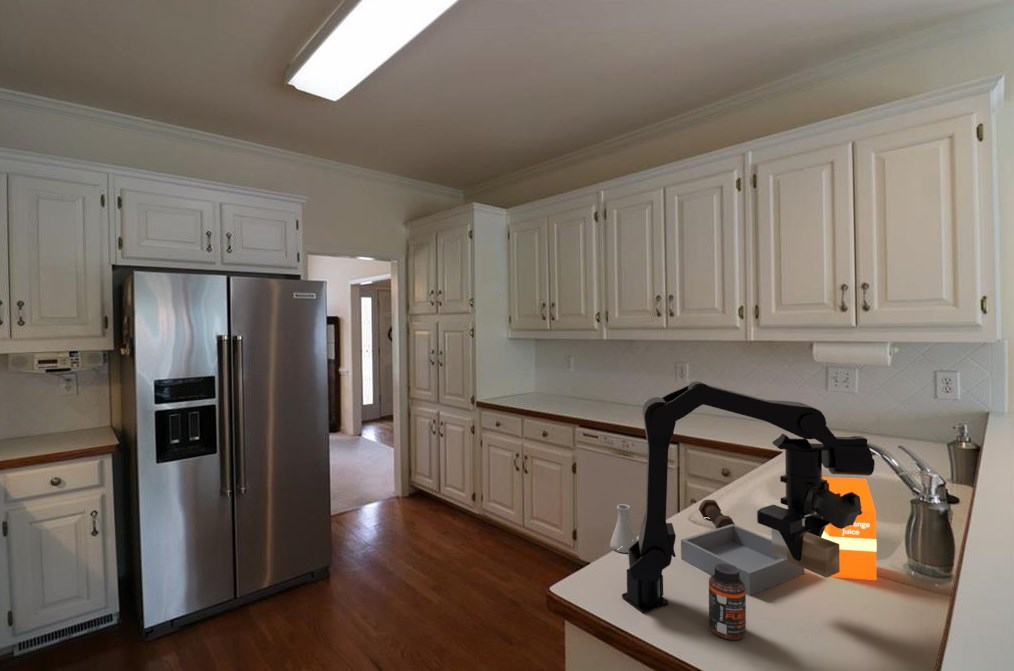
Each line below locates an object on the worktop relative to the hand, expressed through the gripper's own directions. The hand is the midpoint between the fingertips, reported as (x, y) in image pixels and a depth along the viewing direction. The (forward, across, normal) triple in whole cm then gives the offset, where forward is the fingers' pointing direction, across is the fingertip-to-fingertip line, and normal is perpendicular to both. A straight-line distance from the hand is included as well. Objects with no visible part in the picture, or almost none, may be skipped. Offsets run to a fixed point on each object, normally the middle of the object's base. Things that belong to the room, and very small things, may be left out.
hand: (804, 557), depth 89 cm
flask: (+11, -10, +38) cm, 41 cm away
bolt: (+11, +19, +34) cm, 41 cm away
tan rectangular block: (+1, 0, 0) cm, 1 cm away
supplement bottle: (+11, -16, +4) cm, 20 cm away
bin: (+11, +6, +18) cm, 22 cm away
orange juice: (+11, +24, +6) cm, 27 cm away
